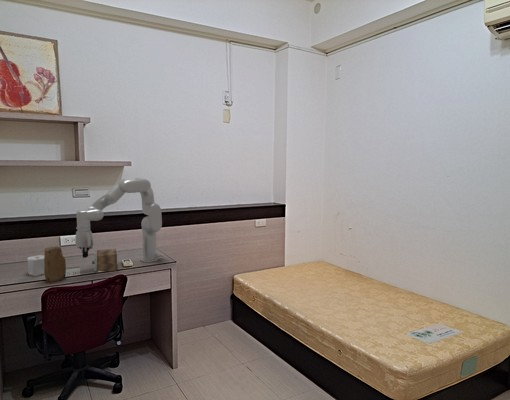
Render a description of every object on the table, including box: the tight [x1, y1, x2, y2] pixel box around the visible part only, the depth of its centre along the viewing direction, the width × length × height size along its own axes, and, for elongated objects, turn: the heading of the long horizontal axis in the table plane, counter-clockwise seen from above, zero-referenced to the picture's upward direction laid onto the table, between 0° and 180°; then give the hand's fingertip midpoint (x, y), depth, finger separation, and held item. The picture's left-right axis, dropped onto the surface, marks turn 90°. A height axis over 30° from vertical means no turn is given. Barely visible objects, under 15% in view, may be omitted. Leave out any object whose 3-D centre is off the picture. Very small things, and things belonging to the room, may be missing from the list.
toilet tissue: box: [26, 254, 45, 277], centre depth 234 cm, size 11×12×10 cm
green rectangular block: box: [91, 250, 97, 272], centre depth 245 cm, size 3×14×10 cm, turn 24°
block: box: [43, 245, 67, 283], centre depth 223 cm, size 11×8×20 cm
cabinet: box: [96, 248, 118, 272], centre depth 248 cm, size 12×14×11 cm
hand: (85, 257), depth 241 cm, fingers closed
